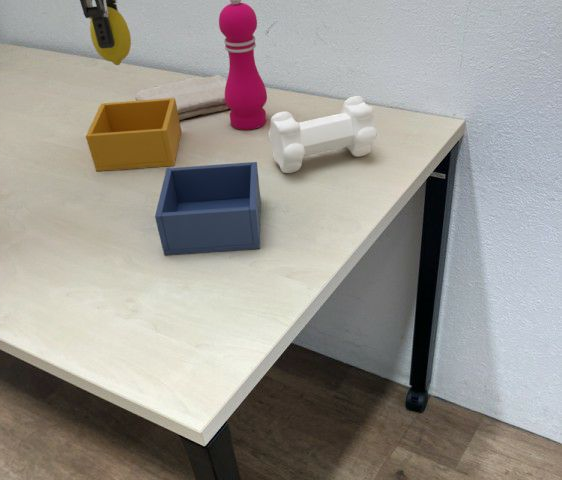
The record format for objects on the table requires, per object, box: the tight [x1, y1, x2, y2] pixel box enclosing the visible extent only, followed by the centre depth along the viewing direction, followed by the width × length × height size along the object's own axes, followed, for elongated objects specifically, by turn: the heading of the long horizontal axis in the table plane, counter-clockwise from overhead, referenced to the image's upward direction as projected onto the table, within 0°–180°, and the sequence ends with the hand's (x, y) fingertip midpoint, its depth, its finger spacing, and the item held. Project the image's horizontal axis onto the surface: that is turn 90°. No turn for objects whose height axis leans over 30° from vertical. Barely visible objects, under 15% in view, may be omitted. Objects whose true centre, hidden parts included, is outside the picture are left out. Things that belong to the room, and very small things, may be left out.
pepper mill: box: [218, 0, 268, 131], centre depth 100 cm, size 7×7×20 cm
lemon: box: [89, 7, 132, 66], centre depth 88 cm, size 6×6×8 cm
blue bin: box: [154, 161, 262, 256], centre depth 82 cm, size 13×13×6 cm
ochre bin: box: [85, 98, 182, 172], centre depth 100 cm, size 13×13×6 cm
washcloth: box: [135, 74, 230, 121], centre depth 112 cm, size 12×18×3 cm, turn 113°
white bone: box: [268, 95, 378, 174], centre depth 92 cm, size 15×9×8 cm, turn 110°
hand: (111, 39), depth 89 cm, fingers closed on lemon, 5 cm apart
